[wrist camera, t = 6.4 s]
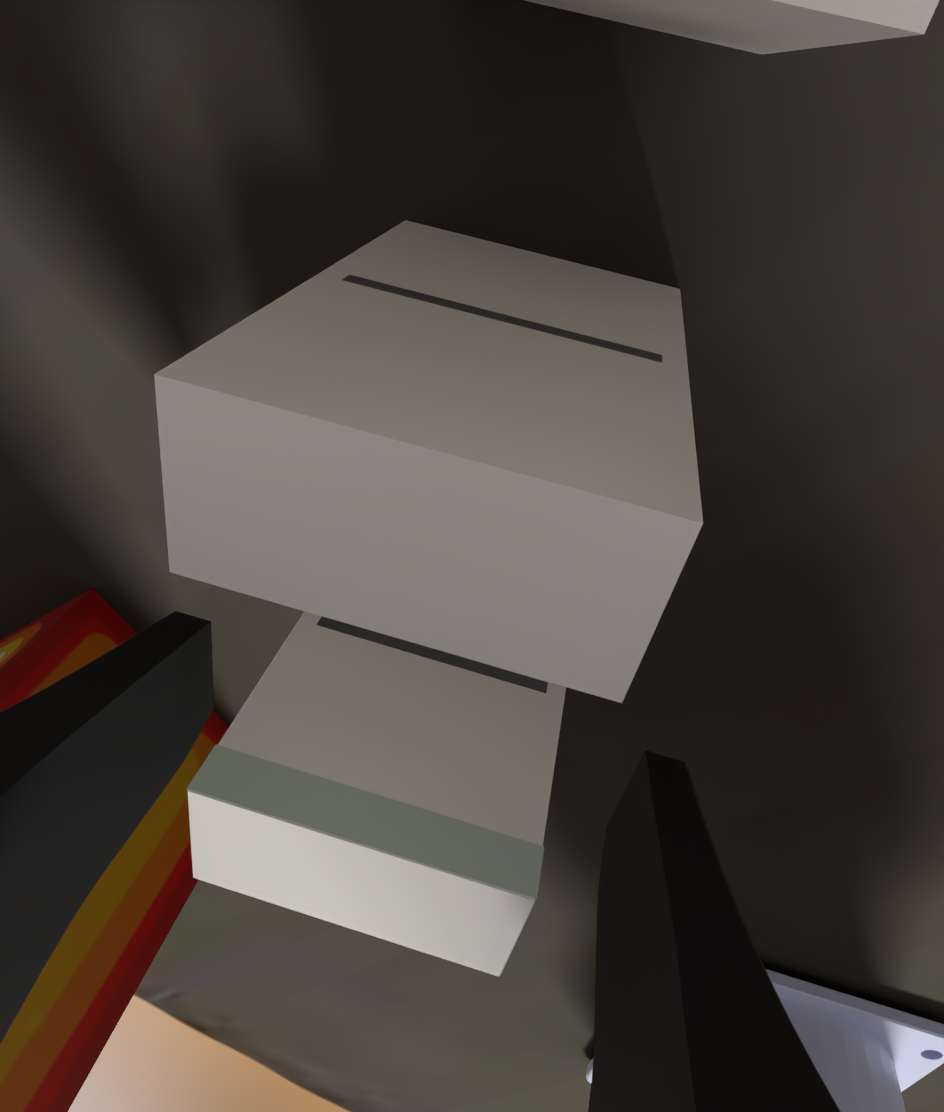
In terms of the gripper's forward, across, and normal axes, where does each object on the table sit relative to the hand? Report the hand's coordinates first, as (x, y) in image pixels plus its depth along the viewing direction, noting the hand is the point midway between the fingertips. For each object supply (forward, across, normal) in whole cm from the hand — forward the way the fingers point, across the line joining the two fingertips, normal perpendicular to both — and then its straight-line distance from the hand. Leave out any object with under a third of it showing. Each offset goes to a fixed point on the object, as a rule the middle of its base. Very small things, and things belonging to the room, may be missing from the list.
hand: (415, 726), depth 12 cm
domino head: (+4, 0, 0) cm, 4 cm away
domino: (+4, 0, -6) cm, 7 cm away
